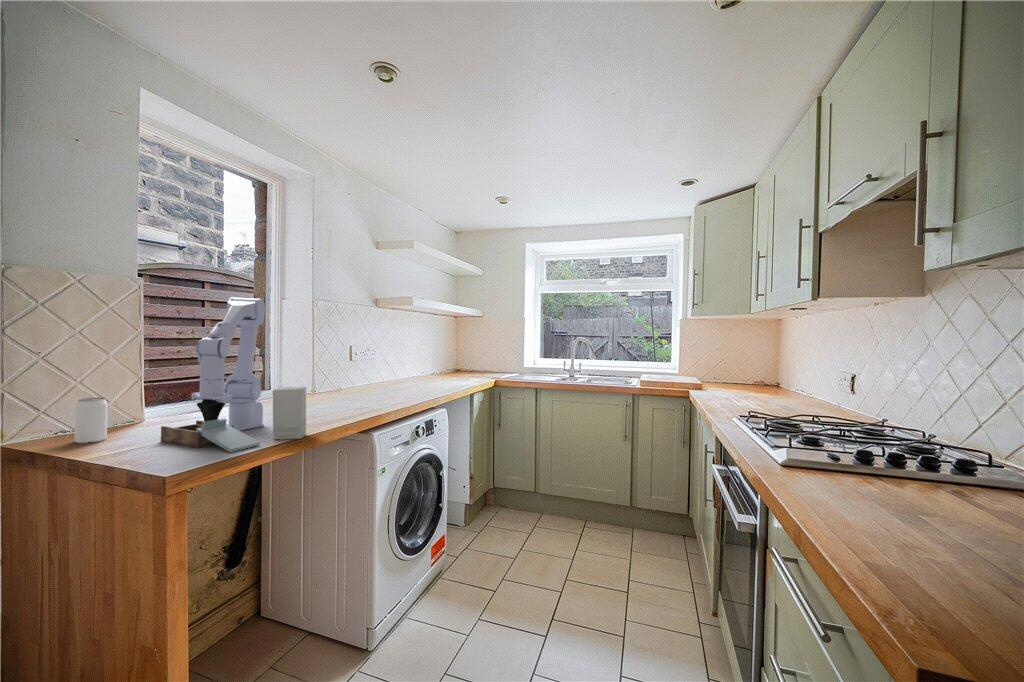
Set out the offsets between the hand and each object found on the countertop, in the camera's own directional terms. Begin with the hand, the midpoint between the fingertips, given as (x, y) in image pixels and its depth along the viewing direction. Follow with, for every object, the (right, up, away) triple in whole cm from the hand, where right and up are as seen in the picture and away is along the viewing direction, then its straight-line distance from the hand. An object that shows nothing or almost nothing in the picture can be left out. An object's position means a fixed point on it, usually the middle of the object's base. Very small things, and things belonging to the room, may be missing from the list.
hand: (210, 426), depth 119 cm
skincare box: (+18, -6, +9) cm, 21 cm away
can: (-33, -4, -1) cm, 34 cm away
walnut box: (-5, -5, +2) cm, 8 cm away
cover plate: (+7, -3, -2) cm, 8 cm away
